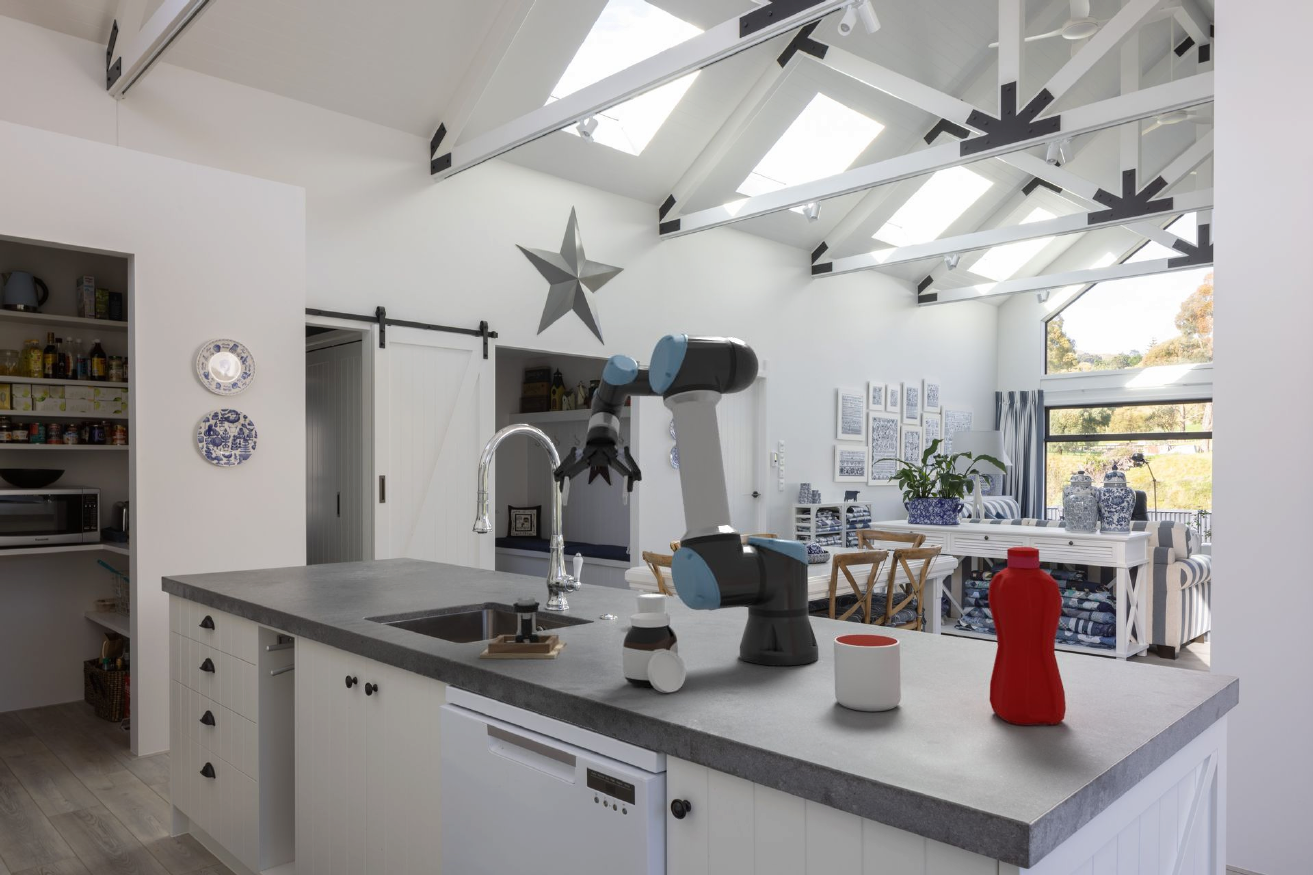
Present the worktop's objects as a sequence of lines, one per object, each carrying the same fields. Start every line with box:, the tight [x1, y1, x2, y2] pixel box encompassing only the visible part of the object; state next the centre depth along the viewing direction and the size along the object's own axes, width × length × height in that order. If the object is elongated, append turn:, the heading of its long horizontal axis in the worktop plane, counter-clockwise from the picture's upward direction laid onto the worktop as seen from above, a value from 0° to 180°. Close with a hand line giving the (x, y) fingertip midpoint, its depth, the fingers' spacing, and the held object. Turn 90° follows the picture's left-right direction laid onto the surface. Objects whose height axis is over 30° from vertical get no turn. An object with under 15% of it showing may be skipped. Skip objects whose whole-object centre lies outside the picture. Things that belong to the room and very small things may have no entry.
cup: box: [833, 633, 902, 712], centre depth 137 cm, size 10×10×10 cm
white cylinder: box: [636, 592, 667, 614], centre depth 206 cm, size 7×7×7 cm
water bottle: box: [987, 546, 1067, 726], centre depth 130 cm, size 9×11×25 cm
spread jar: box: [622, 613, 687, 694], centre depth 150 cm, size 12×11×12 cm
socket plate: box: [478, 634, 567, 659], centre depth 179 cm, size 13×15×2 cm
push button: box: [507, 597, 541, 643], centre depth 179 cm, size 7×5×10 cm
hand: (594, 501), depth 195 cm, fingers open, 13 cm apart
